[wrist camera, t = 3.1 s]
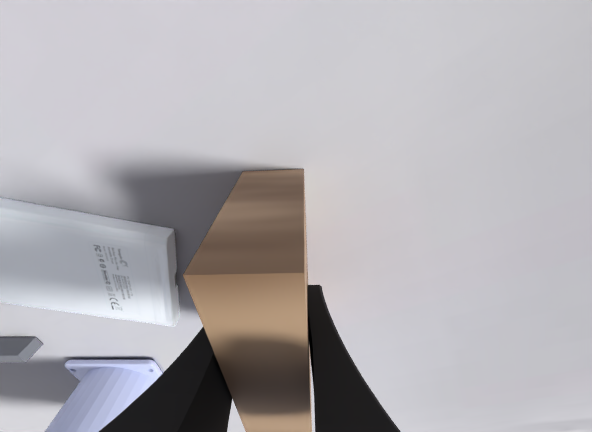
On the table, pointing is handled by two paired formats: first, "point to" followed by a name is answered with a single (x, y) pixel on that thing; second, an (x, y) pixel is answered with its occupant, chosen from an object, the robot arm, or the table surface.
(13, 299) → the external hard drive
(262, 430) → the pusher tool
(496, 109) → the table surface
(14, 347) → the dock frame
